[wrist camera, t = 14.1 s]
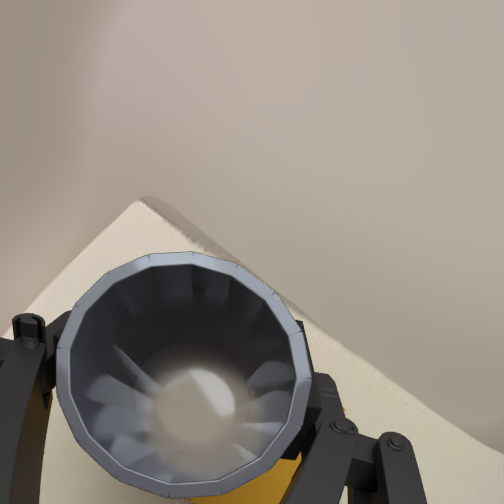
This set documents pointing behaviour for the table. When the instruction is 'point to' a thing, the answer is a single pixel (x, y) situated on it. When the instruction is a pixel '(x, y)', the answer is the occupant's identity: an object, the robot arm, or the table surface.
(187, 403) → the steel tumbler
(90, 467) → the table surface
